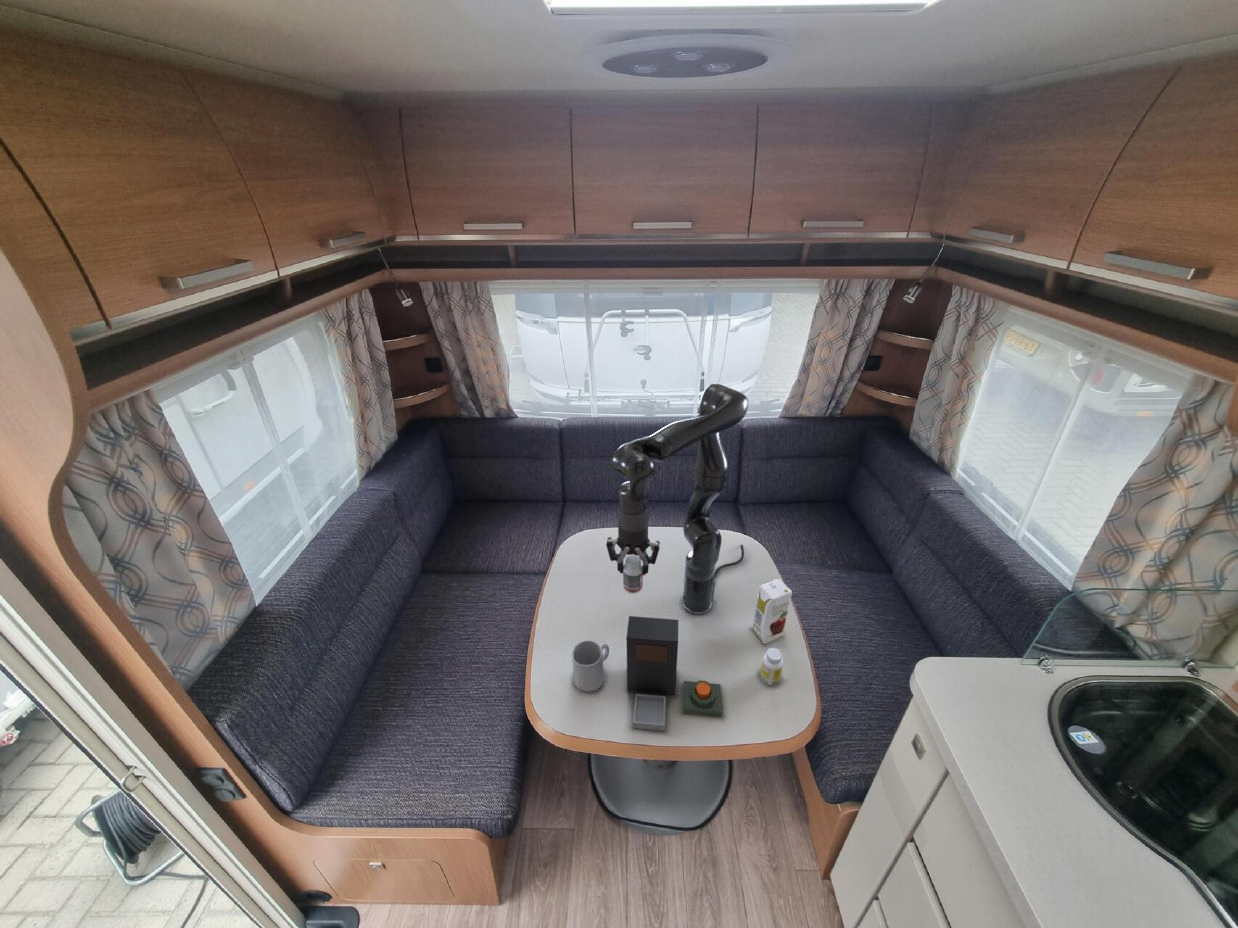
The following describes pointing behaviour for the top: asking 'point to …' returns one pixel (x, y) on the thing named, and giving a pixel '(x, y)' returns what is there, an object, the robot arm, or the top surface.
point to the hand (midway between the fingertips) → (633, 571)
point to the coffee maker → (651, 668)
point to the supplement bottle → (771, 666)
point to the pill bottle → (633, 574)
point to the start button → (703, 690)
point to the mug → (589, 664)
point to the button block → (700, 705)
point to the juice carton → (771, 610)
